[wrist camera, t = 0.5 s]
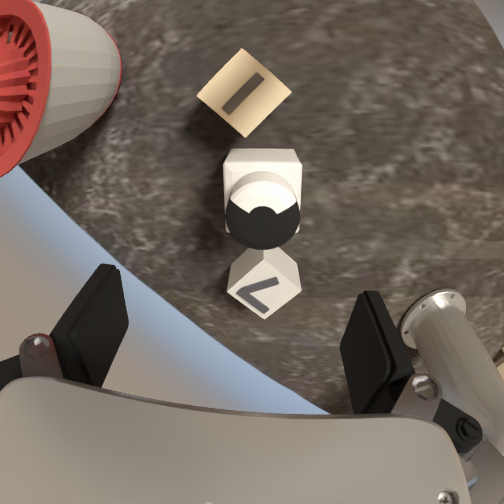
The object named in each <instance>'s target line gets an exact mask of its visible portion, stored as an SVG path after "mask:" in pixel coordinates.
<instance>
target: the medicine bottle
mask: <svg viewBox="0 0 504 504" xmlns="http://www.w3.org/2000/svg"><path fill="white" fill-rule="evenodd" d="M223 179H224V202H225V223H226V231H227V232H228V233H231V235H232V236H233V237H234V238H235V239H236V240H237V241H238V242H239V243H241V244H242V245H244V246H246V247H249V248H251V249H256V250H269V249H274V248H277V247H279V246H281V245H283V244H285V243H286V242H287V241H289V240H290V239H291V238H292V236H293V235H294V234H295V233H297V232H298V231H299V222H300V201H301V181H302V164H301V162H300V160H299V158H298V156H297V154H296V152H295V151H294V150H293V149H231V150H230V152H229V154H228V156H227V158H226V160H225V162H224V164H223Z"/></svg>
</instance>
